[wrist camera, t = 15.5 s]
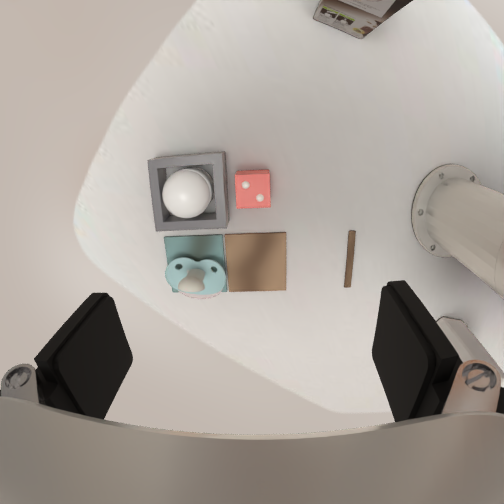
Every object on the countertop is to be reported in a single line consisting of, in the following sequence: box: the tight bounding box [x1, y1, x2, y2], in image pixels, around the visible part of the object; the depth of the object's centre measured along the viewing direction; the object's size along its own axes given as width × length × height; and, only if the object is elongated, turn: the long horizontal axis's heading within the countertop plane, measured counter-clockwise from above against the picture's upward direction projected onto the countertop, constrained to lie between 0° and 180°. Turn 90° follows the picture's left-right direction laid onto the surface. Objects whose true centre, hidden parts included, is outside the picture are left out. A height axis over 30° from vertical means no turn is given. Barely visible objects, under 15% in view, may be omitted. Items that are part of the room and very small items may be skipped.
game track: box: [164, 231, 356, 292], centre depth 38 cm, size 23×8×1 cm, turn 92°
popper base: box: [148, 152, 271, 231], centre depth 33 cm, size 13×8×4 cm, turn 92°
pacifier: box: [165, 257, 226, 299], centre depth 36 cm, size 7×6×6 cm
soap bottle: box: [436, 317, 504, 388], centre depth 33 cm, size 10×9×22 cm
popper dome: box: [162, 167, 214, 218], centre depth 32 cm, size 5×5×5 cm
